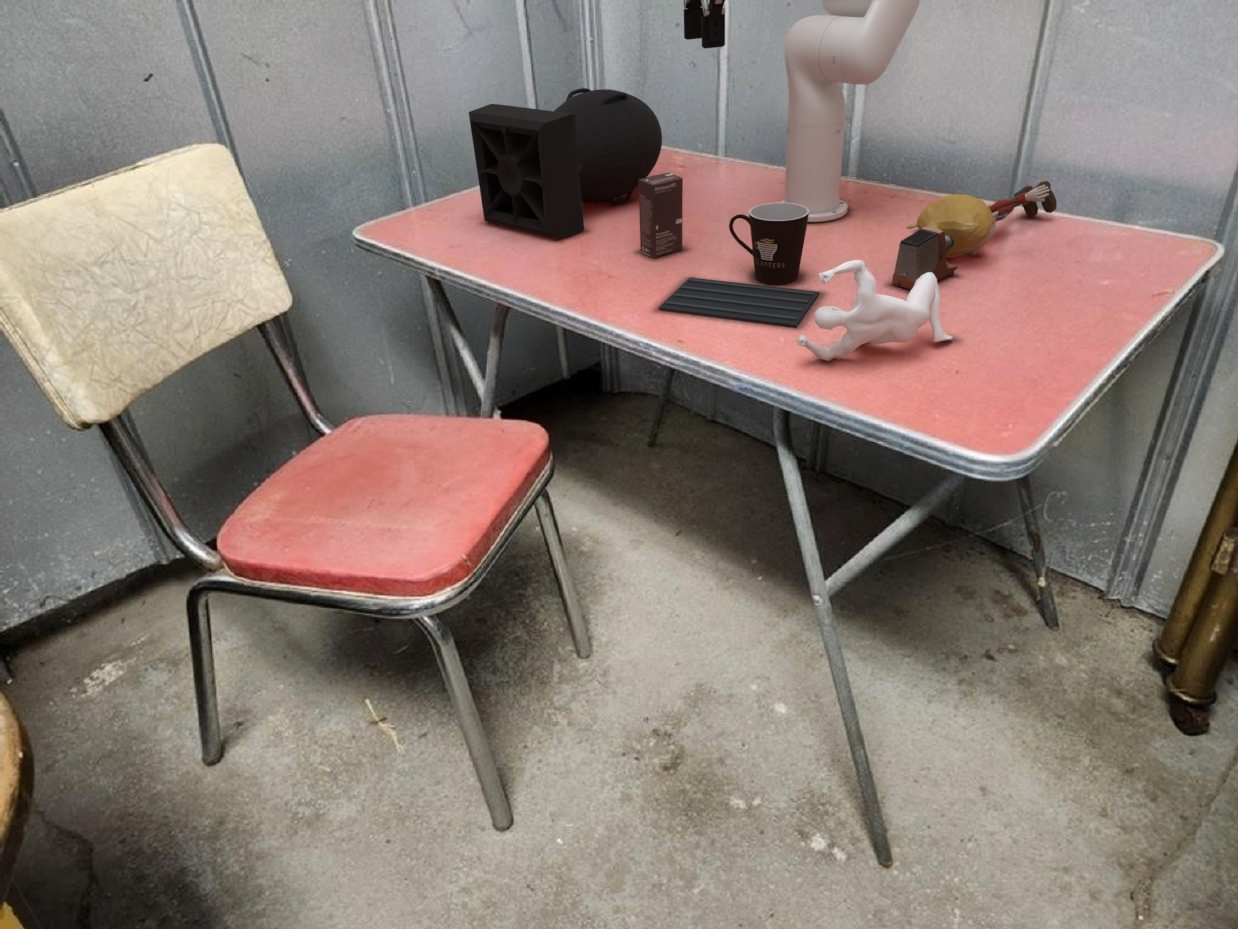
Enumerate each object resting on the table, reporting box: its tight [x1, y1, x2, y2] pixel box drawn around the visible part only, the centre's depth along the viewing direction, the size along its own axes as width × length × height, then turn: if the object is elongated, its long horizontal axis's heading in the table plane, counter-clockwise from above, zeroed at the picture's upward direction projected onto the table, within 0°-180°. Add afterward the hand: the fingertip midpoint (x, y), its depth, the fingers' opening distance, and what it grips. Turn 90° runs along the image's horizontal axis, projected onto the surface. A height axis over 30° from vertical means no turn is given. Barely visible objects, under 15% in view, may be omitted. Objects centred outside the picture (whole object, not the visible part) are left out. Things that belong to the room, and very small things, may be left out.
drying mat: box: [658, 277, 820, 328], centre depth 125 cm, size 12×20×1 cm, turn 65°
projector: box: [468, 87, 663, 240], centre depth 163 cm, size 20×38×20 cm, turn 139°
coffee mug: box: [728, 202, 809, 286], centre depth 130 cm, size 12×9×10 cm
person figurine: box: [796, 259, 954, 362], centre depth 106 cm, size 13×13×18 cm
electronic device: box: [891, 227, 958, 291], centre depth 125 cm, size 4×10×8 cm, turn 127°
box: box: [638, 172, 684, 258], centre depth 141 cm, size 6×4×12 cm
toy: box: [906, 180, 1058, 258], centre depth 137 cm, size 22×10×30 cm
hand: (703, 42), depth 125 cm, fingers open, 9 cm apart
